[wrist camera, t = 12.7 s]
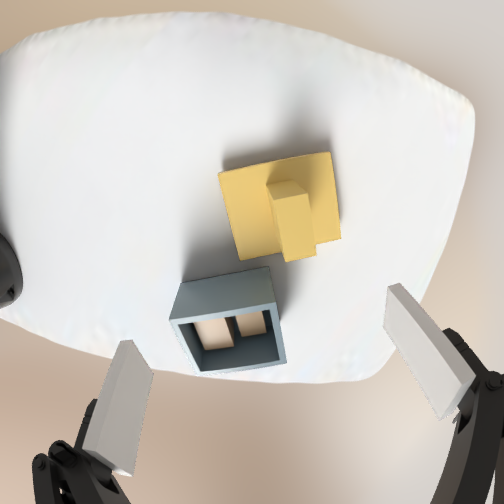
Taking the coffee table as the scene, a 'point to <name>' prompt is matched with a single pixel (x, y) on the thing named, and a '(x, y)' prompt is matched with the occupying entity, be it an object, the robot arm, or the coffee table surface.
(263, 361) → the box
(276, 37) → the coffee table surface
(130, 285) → the coffee table surface
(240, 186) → the lid
